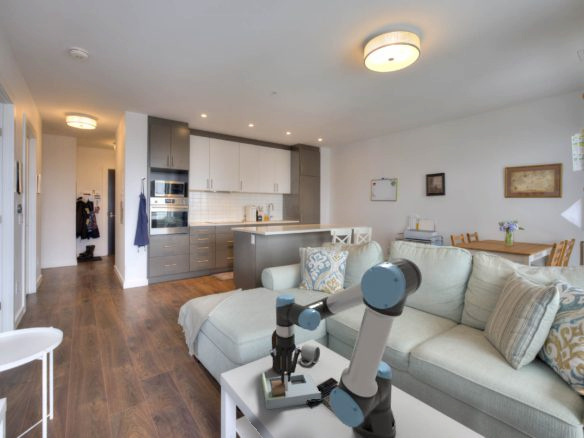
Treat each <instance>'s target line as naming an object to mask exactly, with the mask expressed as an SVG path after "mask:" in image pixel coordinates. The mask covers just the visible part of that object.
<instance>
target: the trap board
mask: <svg viewBox="0 0 584 438" xmlns="http://www.w3.org/2000/svg"><path fill="white" fill-rule="evenodd" d="M261 374H262V376H261V381H262V382H261V384H262V389H263V395H264V400H265V401H264V402H265V408H266V410H267V411H268V410H273V409H280V408H287V407H293V406H300V405H305V404H306V401H307V400H310V399H321V400H322V392H321V391H319V389H318V386H317V384H316V382H315V380H314V378H313V375H312V373H311V372H304V373H302V372H301V373H296V374H295V373H293V374H291V376H290V382H288V391H285V397H284V396H281V397H274V398H273V397H272V392H271V381H278V380H281V375H277V376H273V377H270V376H269V377H266V375H265V371H262V372H261Z"/></svg>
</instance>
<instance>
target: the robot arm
mask: <svg viewBox="0 0 584 438" xmlns="http://www.w3.org/2000/svg"><path fill="white" fill-rule="evenodd" d="M422 282H423V275H422V272H421V269H420V268H419V266H418V265H417V264H416V263H415V262H413V261H412V260H411V259H408V258H402V257H401V258H398V257H397V258H393V259H391V260H388V261H385V262H378V263H376V264H374V265H372V266H370V267H369V268H368V269H367V270H366V271H365V272H364V273H363V275H362V277H361V280H360V281H359V282H357V283H355V284H353V285H351V286H349V287H346V288H343V289H342V290H339V291H337V292H334V293H333V294H330V295H328V296H326V297H323V298H321V299H318V300H316V301H314V302H311V303H308V304H305V305H301V304H298V303H295V302H296V299H295V296H294V295H292V294H290V293H289V294H287V293H284V294H280V295H277V297H276V300H275V325H276V326H275V327H276V328H275V330H276V333H277V334H276V346H275V349H274V350H272V349H271V350H269V353H270V356H271V358H273V359H272V361H273V360H274V364H275V367H276V371H277V373H276V374H277V376H281V382H282V383H284V385H285V391H288V382H290V376H291V375H292V374H295V372H296V368H297V364H298V360H299V357H300V355H301V349H302V348H301V347H300V346H298V347H297V345H296V343H295V342H296V341H295V338H296V337H295V335H296V334H295V333H296V332H295V331H296V329H295V326H297V327H300V328H301V329H304V330H307V331H310V332H311V331H312V332H313V331H315V330H317V329H318V327H319V326H320V325H321V322H322V321H323V320H325V319H327V318H330V317H333V316H335V315H337V314H340V313H344V312H346V311H348V310H350V309H354V308H356V307H359V306H362V305H364V306H365V308H364V312H363V316H362V318H361V323H360V326H359V330H358V333H357V336H356V340H355V344H354V347H353V350H352V353H351V354H352V355H351V357H350V360H349V361H350V362H349V365H348V366H347V367H345V368H344V369H343V370H342V372H341V374H340V378H339V382H338V385H337V386H336V387H334V388H332V390H331V392H330V393H329V405H330V408H331V410H332V412H333V414H334V416H335V417H336V418H337V419H338V420H339V421H340V423H342V424H343V425H345V426H347V427H349V428H354V429H355V430H356V432H357V433H358V434H359V435H360V436H361V437H363V438H393V437H394V436H395V434H396V430H397V428H396V426H397V425H396V419H395V415H394V413H393V409H392V389H393V387H392V386H393V385H392V384H393V375H392V368H391V367H390V366H389V364H388V363H387V362H385V361H383V356H384V352H385V349H386V346H387V343H388V340H389V337H390V335H391V334H390V333H391V331H392V328H393V324H394V321H395V319H396V318H398V317H401V316H402V314H403V311H404V309H405V306H406V305H405V304H406V303H407V299H408V297H409V296H411V295H413V294H415V293H416V292H417V291H418V290H420V289H419V288H421V285H422ZM276 352H277V353H278V354H279V355H280V357H281V370H279V367H278V363H277V359H276ZM292 353H293V358H292V365H291V354H292ZM285 356H287V372H285V362H284V360H285Z"/></svg>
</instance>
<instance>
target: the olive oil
mask: <svg viewBox="0 0 584 438" xmlns="http://www.w3.org/2000/svg"><path fill="white" fill-rule="evenodd" d="M276 334H277V333H276V329H274V331H273V332H272V335H271V350H274V349H275V346H276ZM293 357H294V352H293V353H292V354H291V365H292V361H293ZM271 358H272V357H271ZM276 359H277V363H278V367H279V370H281V357H280V355H279V354H278V353H277V352H276ZM284 362H285V372H287V356H285V360H284ZM272 371H273V372H274V373H275V374H277V371H276V367H275V364H274V360H273V358H272Z"/></svg>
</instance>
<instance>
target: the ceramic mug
mask: <svg viewBox="0 0 584 438" xmlns="http://www.w3.org/2000/svg"><path fill="white" fill-rule="evenodd" d="M300 349H301V353H300V364H301V365H302V366H303V367H308V366H310V365H311V364H317V363H318V361H319V359H320V358H321V357H320V355H321V348H320V347H319V346H317V345H312V344H303V346H302V347H301V348H300ZM303 360H304V361H307V363H304V362H303Z"/></svg>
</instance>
